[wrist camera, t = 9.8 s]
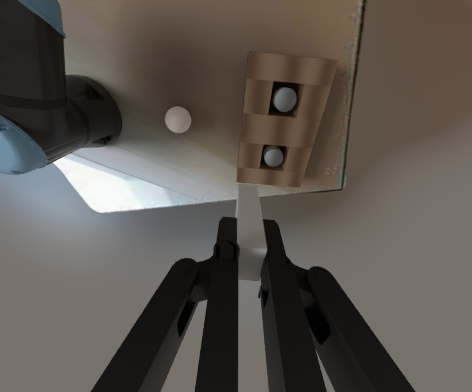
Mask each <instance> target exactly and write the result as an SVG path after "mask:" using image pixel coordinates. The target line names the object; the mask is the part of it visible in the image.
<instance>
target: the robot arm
mask: <svg viewBox="0 0 472 392" xmlns="http://www.w3.org/2000/svg"><path fill="white" fill-rule="evenodd" d="M63 38H64V39H65V38H66V36H65V33H64V32H63V24H62V14H61V8H60V5H59V3H58V1H57V0H0V173H3V174H10V175H18V174H24V173H27V172H30V171H32V170H35V169H39V168H42V167H45V166H46V165H48V164H50V163H52V162H54V161H56V160H58V159H60V158H62V157H64V156H66V155H68V154H70V153H72V152H74V151H76V150H78V149H80V148H94V147H103V146H106V145H108V144H110V143H112V142H113V141H115V140H116V139H117V138H118V136H119V134H120V132H121V128H122V119H121V114H120V111H119V109H118V106H117V104H116V103H115V101H114V100H113V98H112V97H111V95H110V94H109V93H108V92H107V91H106V90H105V89H104V88H103V87H102V86H100V85H99V84H98V83H96V82H95V81H93V80H91V79H89V78H86V77H83V76H79V75H65V57H64V39H63ZM260 276H261V286H260V291H259V294H258V298H260V296H261V307H262V319H263V330H264V341H265V351H266V364H267V375H268V386H269V392H327V391H326V387H325V383H324V380H323V376H322V372H321V369H320V365H319V361H318V357H317V354H316V351H317V353H318V355H319V358H320V360H321V362H322V364H323V366H324V368H325V371H326V373H327V375H328V377H329V379H330V381H331V383H332V386H333V388H334V390H335V392H415V390H414V389H413V388H412V386H411V385H410V383H409V382H408V381H407V379H406V378H405V376H404V375H403V374H402V372H401V371H400V370H399V368H398V367H397V365H396V364H395V362H394V361H393V360H392V358H391V357H390V355H389V354H388V353H387V351H386V350H385V348H384V347H383V345H382V344H381V343H380V341H379V340H378V339H377V337H376V336H375V334H374V333H373V332H372V330H371V329H370V327H369V326H368V324H367V323H366V322H365V320H364V319H363V317H362V316H361V315H360V313H359V312H358V310H357V309H356V308H355V306H354V305H353V303H352V302H351V300H350V299H349V298H348V297H347V295H346V293H345V292H344V291H343V289H342V288H341V286H340V285H339V284H338V282H337V281H336V279H335V278H334V277H333V275H332V274H331V273H330V272H329V271H327V270H326V269H324V268H322V267H319V266H314V267H311V268H310V269H309V270H306V269H303V268H301V267H298V266H296V265H294V264H293V263H291V261H290V259H289V258H288V257H287V256H286V253H285V249H284V245H283V241H282V237H281V234H280V229H279V226H278V224H277V223H276V222H275V220H265V219H262V213H261V206H260V200H259V193H258V187H257V185H244V184H239V186H238V196H237V205H236V218H233V217H223V218H222V219H221V220H220V221H219V227H218V234H217V242H216V244H215V246H214V252H213V256H212V257H211V258H209V259H207V260H205V261H201V262H196V261H195V260H193V259H191V258H184V259H180V260H179V261H177V262H175V264H174V265H173V266H172V267H171V269H170V271H169V272H168V274H167V275H166V277H165V278H164V280H163V281H162V283H161V284H160V286H159V287H158V289H157V290H156V292H155V294H154V295H153V297H152V298H151V300H150V301H149V303H148V304H147V306H146V307H145V309H144V310H143V312H142V314H141V315H140V317H139V318H138V320H137V321H136V323H135V324H134V326H133V327H132V329H131V330H130V332H129V334H128V335H127V337H126V338H125V340H124V341H123V343H122V344H121V346H120V348H119V349H118V350H117V352H116V354H115V355H114V357H113V358H112V360H111V361H110V363H109V364H108V366H107V367H106V369H105V371H104V372H103V374H102V375H101V377H100V378H99V380H98V381H97V383H96V384H95V386H94V387H93V389H92V391H91V392H160V391H161V389H162V387H163V384H164V382H165V380H166V378H167V375H168V373H169V370H170V368H171V366H172V363H173V361H174V359H175V356H176V354H177V352H178V349H179V347H180V344H181V342H182V340H183V338H184V335H185V333H186V331H187V328H188V326H189V324H190V321H191V319H192V317H193V314H194V312H195V310H196V307H197V305H198V302H200V301H204V300H207V299H208V300H207V307H206V315H205V322H204V329H203V336H202V343H201V350H200V357H199V365H198V372H197V379H196V386H195V392H238V280H252V281H259V280H260ZM315 349H316V350H315Z"/></svg>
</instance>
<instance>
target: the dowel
mask: <svg viewBox="0 0 472 392" xmlns="http://www.w3.org/2000/svg"><path fill="white" fill-rule="evenodd" d="M262 151H263V155H264V159H265V162H266V164H267V165H269V166H272V167H274V166H278V165H279V164H280V163H281V162H282V161H283V154H282V152H281V150H280V148H279V146H277V145H266V144H265V145H264V146H263V149H262Z"/></svg>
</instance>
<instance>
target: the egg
mask: <svg viewBox="0 0 472 392" xmlns="http://www.w3.org/2000/svg"><path fill="white" fill-rule="evenodd" d="M165 123H166V125H167V127H168V128H169V129H170V130H171V131H173V132H175V133H183V132H185V131H187V130H188V129H189V127H190V125H191V116H190V114H189V112H188V111H187V110H186V109H184V108H182V107H178V106H175V107H172V108H170V109H169V110H168V111H167V113H166V115H165Z"/></svg>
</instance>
